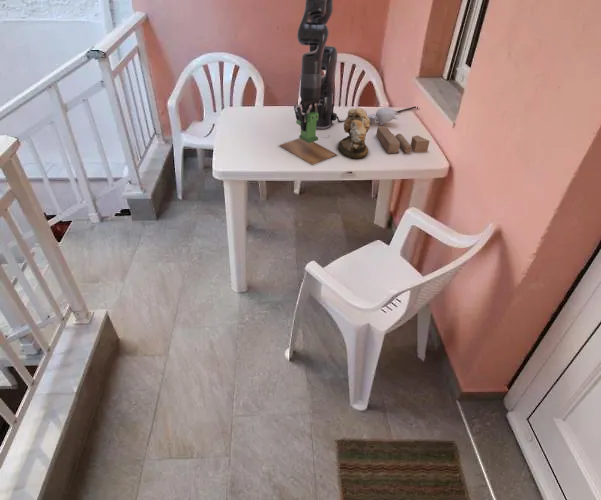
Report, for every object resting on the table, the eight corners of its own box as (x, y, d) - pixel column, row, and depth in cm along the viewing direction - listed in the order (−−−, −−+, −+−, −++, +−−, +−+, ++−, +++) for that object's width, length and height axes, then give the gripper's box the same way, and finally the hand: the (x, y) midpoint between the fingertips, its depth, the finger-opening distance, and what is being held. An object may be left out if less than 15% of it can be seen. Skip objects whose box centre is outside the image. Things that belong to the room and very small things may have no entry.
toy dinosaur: (291, 121, 164) (305, 107, 154) (300, 119, 166) (315, 104, 156) (303, 147, 164) (318, 134, 154) (313, 144, 167) (328, 131, 157)
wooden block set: (390, 141, 163) (377, 123, 176) (388, 155, 166) (375, 136, 180) (431, 139, 165) (414, 122, 179) (428, 153, 169) (412, 134, 182)
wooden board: (304, 138, 176) (304, 136, 176) (336, 155, 165) (336, 154, 164) (280, 146, 170) (280, 144, 169) (312, 164, 158) (312, 163, 158)
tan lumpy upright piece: (333, 140, 175) (336, 100, 164) (359, 139, 177) (364, 99, 166) (344, 160, 162) (348, 117, 151) (373, 158, 163) (379, 116, 153)
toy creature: (358, 109, 195) (402, 107, 191) (358, 125, 198) (401, 123, 193) (355, 109, 184) (401, 107, 179) (355, 126, 186) (401, 124, 181)
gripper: (302, 90, 145) (300, 136, 155) (331, 83, 152) (328, 128, 163) (288, 84, 149) (288, 130, 160) (318, 78, 156) (315, 121, 167)
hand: (308, 128), depth 161 cm, fingers closed on toy dinosaur, 4 cm apart
